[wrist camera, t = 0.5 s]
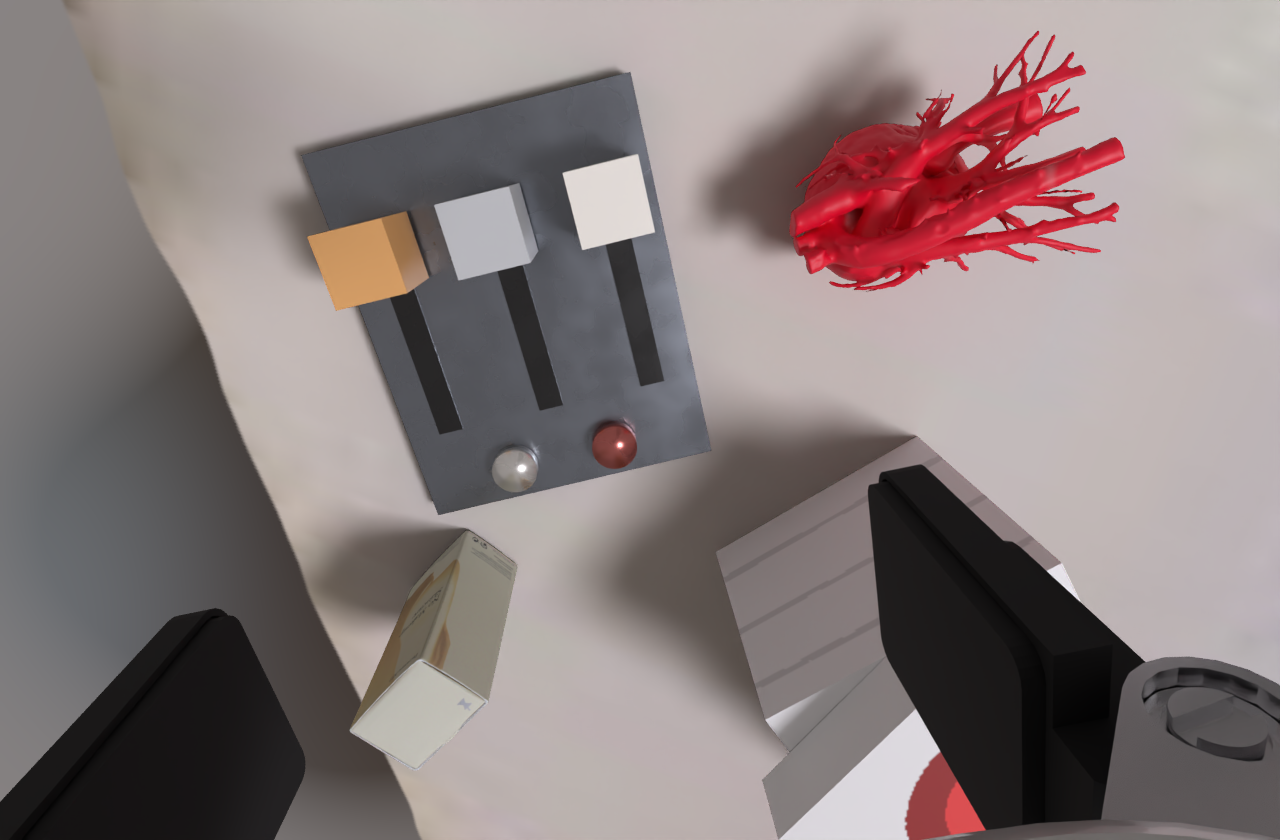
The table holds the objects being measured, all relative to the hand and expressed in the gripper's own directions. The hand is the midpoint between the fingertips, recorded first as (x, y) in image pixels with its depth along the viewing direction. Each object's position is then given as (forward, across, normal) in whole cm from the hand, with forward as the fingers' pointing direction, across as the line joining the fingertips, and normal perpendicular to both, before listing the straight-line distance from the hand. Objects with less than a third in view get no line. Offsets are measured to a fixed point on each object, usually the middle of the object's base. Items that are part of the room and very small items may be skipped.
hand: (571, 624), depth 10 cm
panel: (+31, +4, +1) cm, 32 cm away
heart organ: (+32, -16, -2) cm, 36 cm away
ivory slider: (+30, -2, -4) cm, 30 cm away
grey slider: (+30, +4, -4) cm, 30 cm away
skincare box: (+32, +12, +17) cm, 38 cm away
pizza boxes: (+32, -16, +28) cm, 45 cm away
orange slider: (+30, +10, -4) cm, 32 cm away
